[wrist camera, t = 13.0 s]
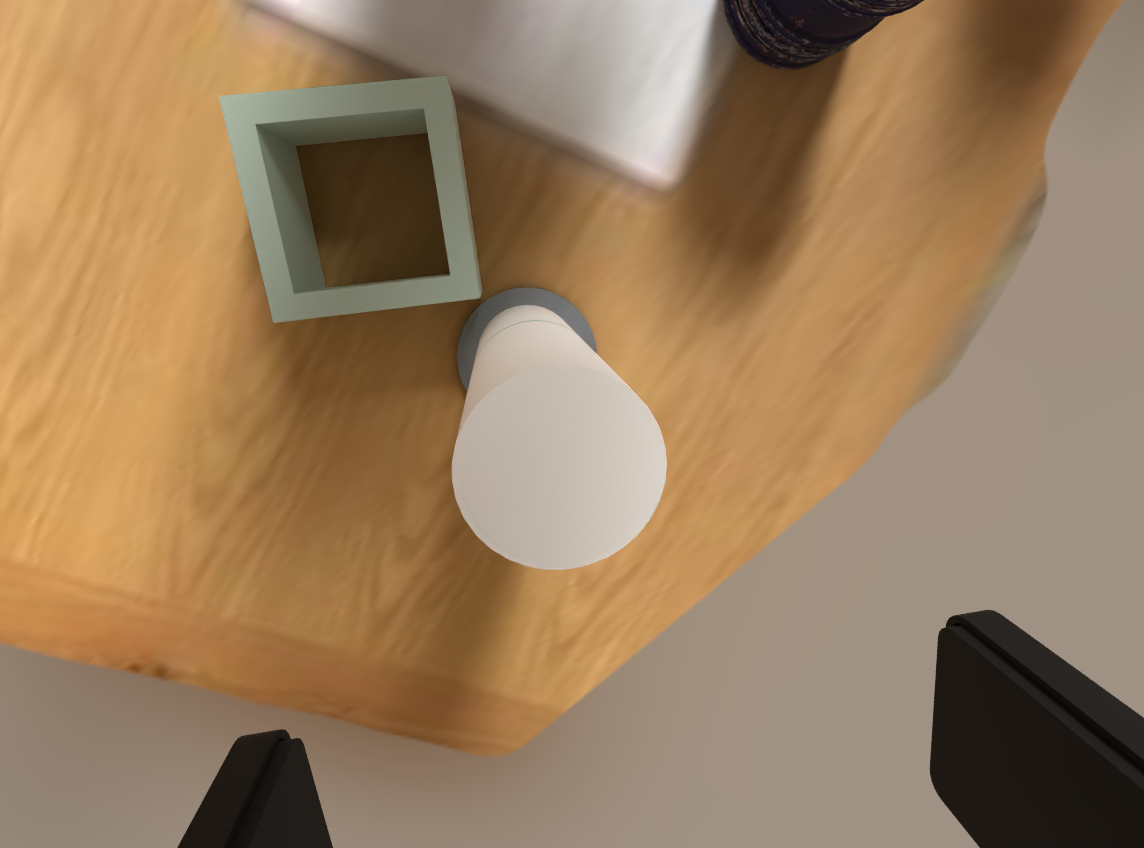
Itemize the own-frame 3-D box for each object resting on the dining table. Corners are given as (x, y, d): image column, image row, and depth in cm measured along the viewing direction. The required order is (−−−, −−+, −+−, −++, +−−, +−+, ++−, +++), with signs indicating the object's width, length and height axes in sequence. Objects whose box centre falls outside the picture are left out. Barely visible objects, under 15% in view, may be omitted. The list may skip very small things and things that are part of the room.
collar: (266, 122, 40) (218, 96, 33) (455, 104, 41) (446, 75, 34) (308, 312, 43) (273, 322, 36) (482, 291, 44) (479, 298, 37)
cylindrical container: (472, 397, 45) (441, 560, 21) (483, 298, 43) (463, 351, 19) (569, 409, 46) (646, 578, 22) (584, 312, 44) (685, 380, 20)
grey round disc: (447, 295, 44) (446, 296, 43) (587, 279, 44) (589, 279, 44) (469, 431, 46) (468, 434, 46) (601, 413, 47) (603, 416, 46)
